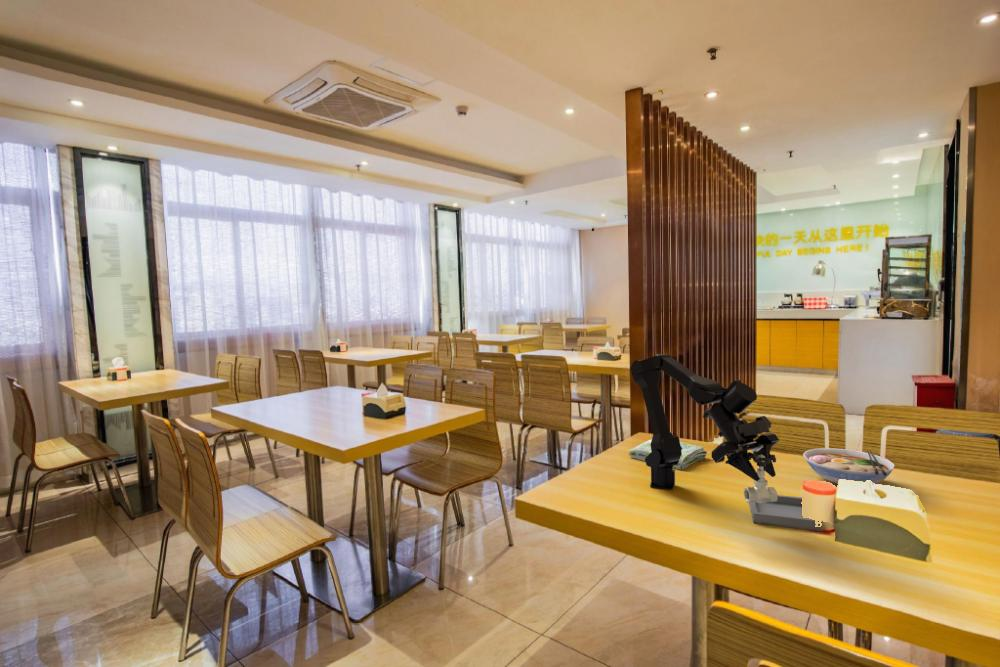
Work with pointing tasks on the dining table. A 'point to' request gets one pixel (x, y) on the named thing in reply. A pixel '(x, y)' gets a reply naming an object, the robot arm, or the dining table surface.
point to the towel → (688, 457)
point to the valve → (761, 481)
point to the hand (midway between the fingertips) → (766, 478)
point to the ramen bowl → (848, 465)
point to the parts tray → (782, 513)
